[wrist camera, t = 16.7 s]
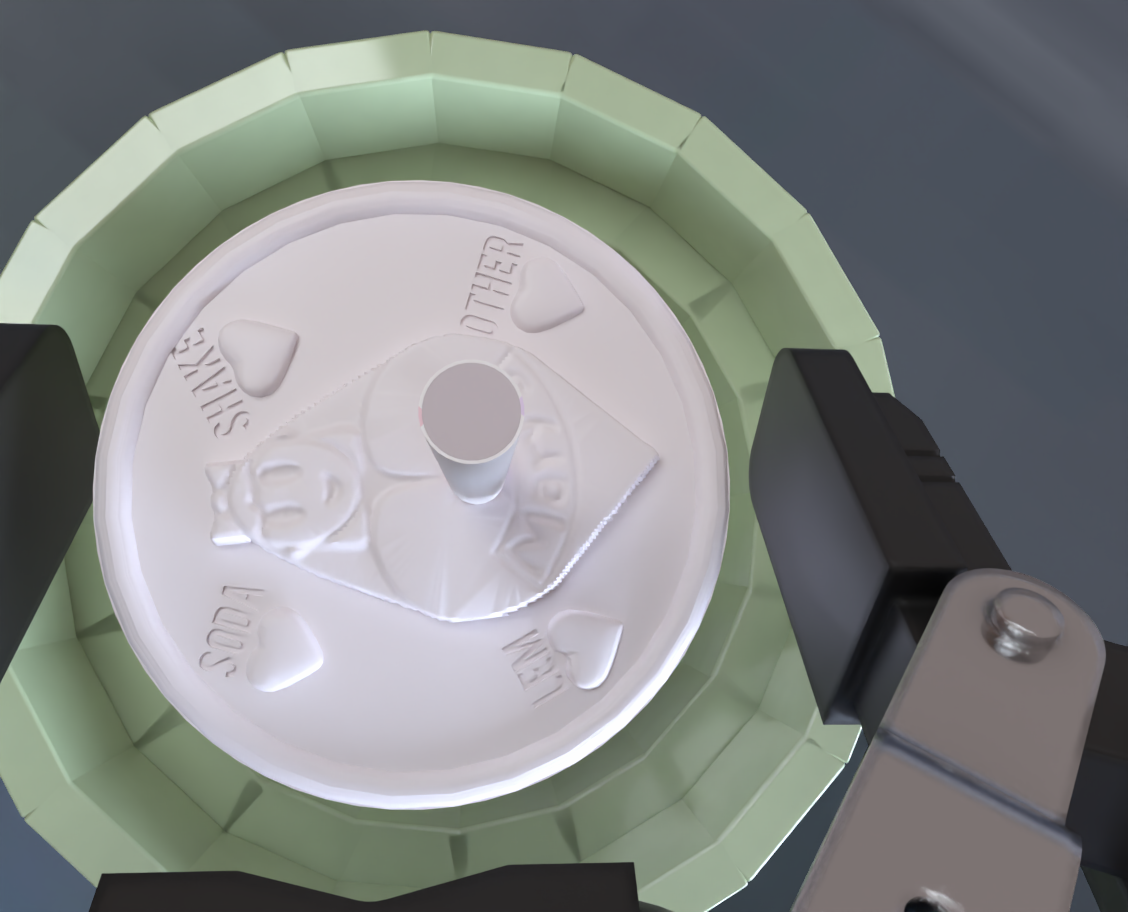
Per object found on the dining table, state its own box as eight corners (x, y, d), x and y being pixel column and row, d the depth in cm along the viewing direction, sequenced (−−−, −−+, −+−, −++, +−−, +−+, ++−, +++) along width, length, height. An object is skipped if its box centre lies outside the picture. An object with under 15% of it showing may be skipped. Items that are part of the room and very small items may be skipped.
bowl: (-36, 371, 19) (-251, 297, 13) (585, 64, 20) (621, -111, 15) (305, 1016, 18) (229, 1220, 13) (915, 640, 20) (1080, 674, 14)
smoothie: (626, 656, 19) (1045, 968, 5) (305, 699, 18) (-291, 1201, 4) (588, 348, 19) (865, -175, 5) (276, 378, 19) (-330, -129, 5)
